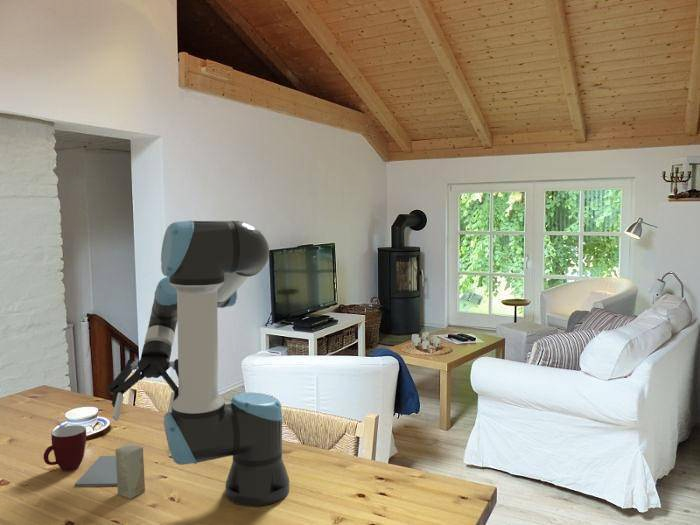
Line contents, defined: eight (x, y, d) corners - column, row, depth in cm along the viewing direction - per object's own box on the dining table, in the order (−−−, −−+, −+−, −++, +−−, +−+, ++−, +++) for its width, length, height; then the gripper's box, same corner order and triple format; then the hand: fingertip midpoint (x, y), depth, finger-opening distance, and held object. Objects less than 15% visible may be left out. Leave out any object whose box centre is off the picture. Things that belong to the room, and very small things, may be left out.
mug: (57, 482, 143) (55, 442, 142) (36, 474, 147) (35, 436, 146) (94, 465, 153) (92, 428, 152) (73, 459, 156) (72, 423, 155)
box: (145, 492, 139) (144, 447, 138) (130, 499, 135) (128, 453, 134) (131, 486, 142) (130, 442, 140) (116, 493, 138) (114, 448, 137)
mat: (141, 457, 158) (141, 455, 157) (121, 485, 142) (120, 483, 142) (100, 458, 157) (100, 455, 157) (75, 486, 141) (74, 484, 141)
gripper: (205, 352, 164) (194, 424, 151) (115, 353, 163) (96, 425, 150) (201, 338, 158) (189, 411, 145) (108, 338, 157) (87, 412, 144)
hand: (142, 418), depth 147 cm, fingers open, 13 cm apart
